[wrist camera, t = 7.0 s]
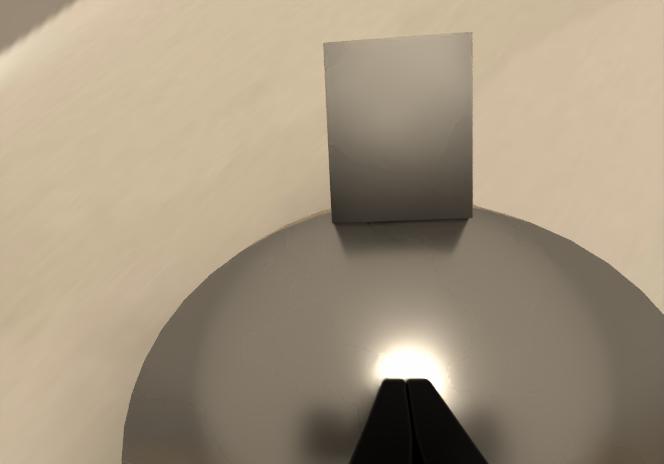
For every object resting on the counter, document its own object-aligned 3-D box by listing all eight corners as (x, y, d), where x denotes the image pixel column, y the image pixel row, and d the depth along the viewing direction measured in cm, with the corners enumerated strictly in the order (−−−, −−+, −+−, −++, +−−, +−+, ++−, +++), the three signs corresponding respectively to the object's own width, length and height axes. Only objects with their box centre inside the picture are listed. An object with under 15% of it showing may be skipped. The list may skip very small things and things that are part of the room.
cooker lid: (669, 702, 10) (755, 853, 8) (172, 676, 11) (124, 803, 9) (720, 33, 8) (856, -19, 6) (102, 75, 9) (15, 46, 7)
